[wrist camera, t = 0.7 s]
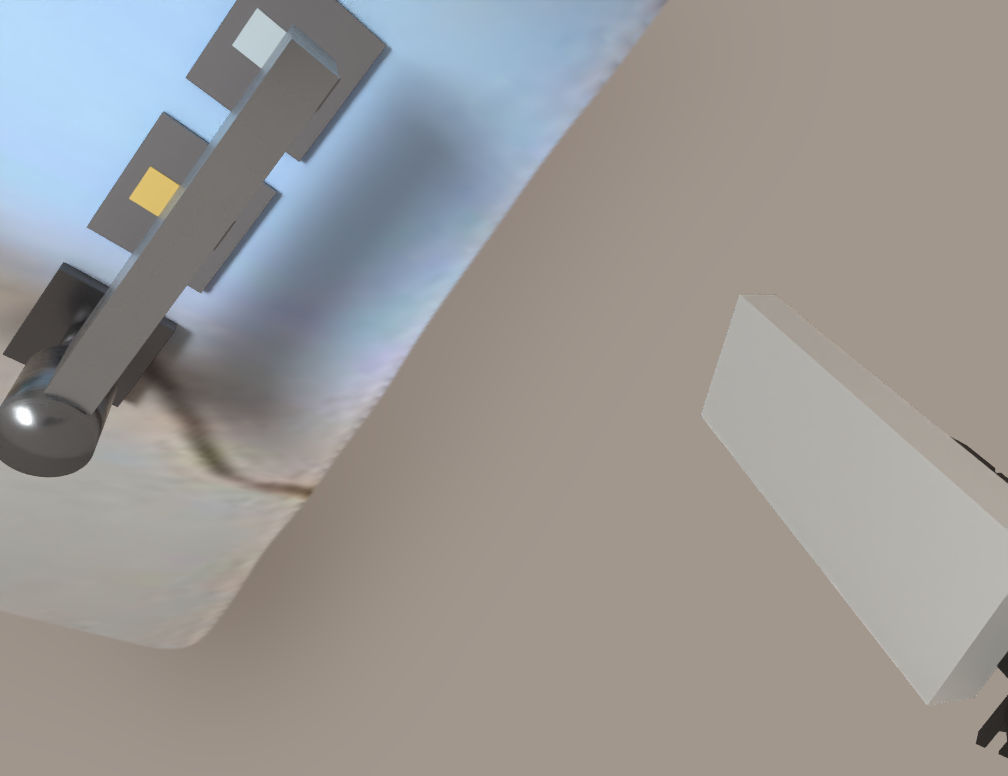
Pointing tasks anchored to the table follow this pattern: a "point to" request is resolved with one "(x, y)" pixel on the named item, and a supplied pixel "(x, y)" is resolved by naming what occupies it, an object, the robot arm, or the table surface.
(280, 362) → the table surface
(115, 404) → the dark grey square block
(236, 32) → the label plate dark grey
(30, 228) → the table surface
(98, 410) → the rail
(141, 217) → the label plate ochre
